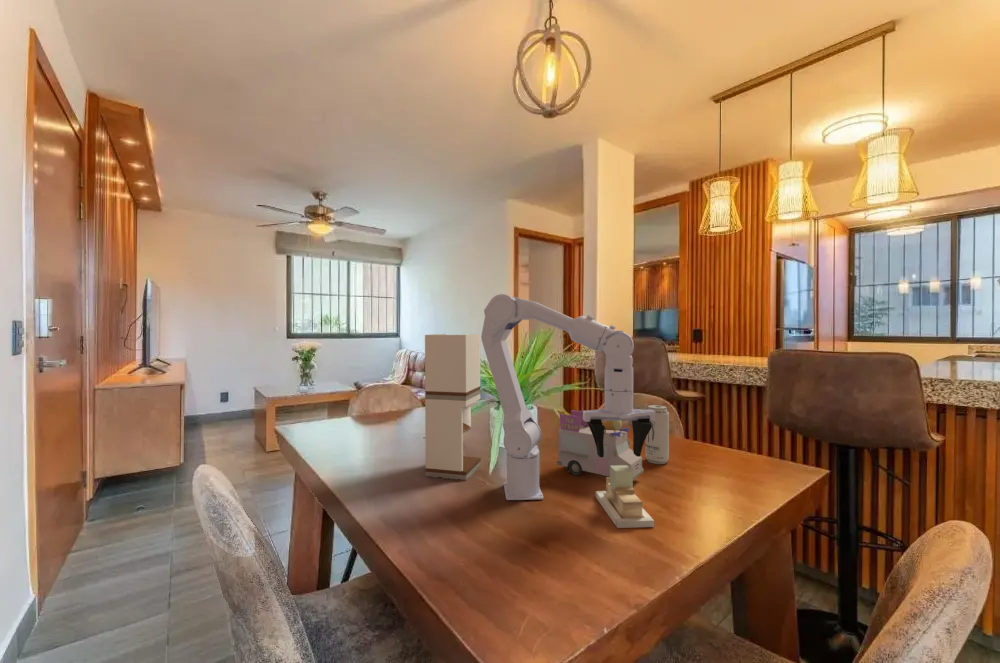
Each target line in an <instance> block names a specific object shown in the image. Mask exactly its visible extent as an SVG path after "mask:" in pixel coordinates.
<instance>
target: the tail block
mask: <svg viewBox="0 0 1000 663" xmlns="http://www.w3.org/2000/svg"><path fill="white" fill-rule="evenodd" d="M609 477H610V485H611V487H612V488H613V489H614V490H615V487H632V488H633V489H634V487H633V486H634V483H633V482H634V480H633V471H632V470H631V469H630V468H629V467H628V466H627V465H615V466H610V476H609Z"/></svg>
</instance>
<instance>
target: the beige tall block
mask: <svg viewBox="0 0 1000 663" xmlns="http://www.w3.org/2000/svg"><path fill="white" fill-rule="evenodd" d="M424 374H425V375H424V388H425V389H424V390H425V392H424V393H425V394H424V398H425V400H424V401H425V402H424V403H425V406H424V408H425V413H424V416H425V417H424V418H425V419H424V420H425V421H424V422H425V425H424V426H425V429H424V430H425V431H424V433H425V477H427V476H433V477H432V478H438V477H442V478H441V479H448V478H449V480H458V479H460V480H459V481H467V480H469V478H470V477H471V476H472V475H473V474H474V473H475V472H476V471H477V470H478V469H479V468H480V467H479V466H480V465H481V464H482V463H481V462H482V461H481V457H480V456H479V457H478V456H477V457H476V456H467V455H466V456H465V455H464V433H468V432H469V431H470V430H471V429H472V404H474V403H475V402H477V401H479V400H481V333H474V334H473V333H471V334H446V333H435V334H434V333H433V334H424ZM478 467H479V468H478ZM477 468H478V469H477ZM475 470H476V471H475Z"/></svg>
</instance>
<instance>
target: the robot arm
mask: <svg viewBox="0 0 1000 663" xmlns="http://www.w3.org/2000/svg"><path fill="white" fill-rule="evenodd" d="M483 312H484V320H483V326H482V330H481V334H480V340H481V343H482V345H483V350H484V352H485V356H486V360H487V362H488V366H489V370H490V372H491V376H492V379H493V382H494V386H495V389H496V392H497V395H498V399H499V402H500V405H501V409H502V412H503V420H502V429H503V432H504V433H503V434H504V435H503V446H504V448H505V451H506V481H505V482H503V489H504V495H505V500H507V501H524V500H525V501H527V500H529V501H532V500H533V501H535V500H544V494H543V492H542V490H541V487H540V450H539V448H538V443H540V441H541V438H542V430H541V427H540V426H539V424H538V423H537V422H536V421H535V418H534V417H533V413H532V412H531V411H530V410H529V409H528V407H527V405H526V402H525V398H524V395H523V392H522V389H521V386H520V382H519V380H518V376H517V372H516V369H515V366H514V363H513V359H512V356H511V353H510V350H509V346H508V343H507V339H508V337H509V335H511V332H512V331H513V329H514V328H515V327H516V326H518V325H519V324H520V323H521V322H522V321H530V320H536V321H539V322H541V323H544V324H547V325H549V326H552V327H553V328H557V329H559V330H562V331H565V332H567V333H568V335H569V337H570V340H571V341H572V342H575V343H576V344H578V345H581V346H584V347H586V348H589V349H591V350H593V351H596V352H598V353H600V352H604V355H605V366H604V408H602V409H601V408H599V409H591V410H589V409H588V410H587V409H586V410H583V420H584V421H585V422H587V423H588V426H589V428H590V430H591V432H592V435H593V437H594V440H595V444H596V448H597V455H598V456H599V457H603V456H604V445H603V440H604V430H605V426H603V422H605V421H620V420H621V421H631V424H632V436H633V437H632V439H633V440H632V442H633V444H632V450H633V453H634V454H635V455H636V456H637V457H640V456H642V455H641V454H642V450H643V447H644V444H645V442H646V436H647V434H648V433H649V431H650V430H651V428H652V423H651V422H650V421H655V411H653V410H647V409H640V408H639V409H638V408H634V367H633V365H634V358H633V353H634V349H635V345H634V340H633V338H632V336H631V335H629V334H628V333H627V332H625V331H623V330H620V329H619V330H615V329H616V326H614V325H613V324H611V325H610V326H609V325H606V324H604V323H602V322H599V321H597V320H594V319H595V317H594V316H592V315H586V316H584V315H580V316H578V317H576V318H573V317H570V316H568V315H566V314H564V313H562V312H560V311H557V310H555V309H553V308H550V307H548V306H546V305H544V304H541V303H540V302H537V301H533V300H528V299H524V298H520V297H518V296H509V295H507V294H505V293H504V294H503V293H500V294H496V295H495V296H492V298H490V300H489V302H488V304H487V305H486V306H485V308H484V310H483Z"/></svg>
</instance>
